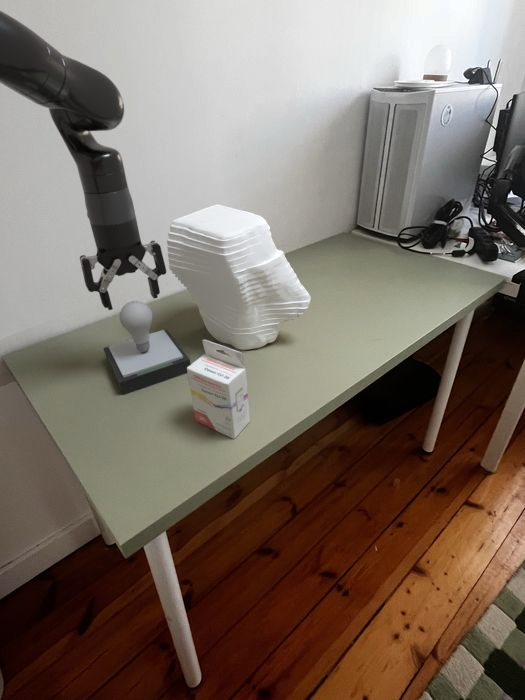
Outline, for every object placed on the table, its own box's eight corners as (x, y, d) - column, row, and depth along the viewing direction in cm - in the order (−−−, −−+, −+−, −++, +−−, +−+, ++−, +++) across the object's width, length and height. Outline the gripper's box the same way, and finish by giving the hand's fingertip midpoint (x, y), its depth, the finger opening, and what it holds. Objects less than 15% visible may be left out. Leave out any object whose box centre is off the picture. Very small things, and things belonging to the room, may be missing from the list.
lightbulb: (153, 339, 91) (143, 292, 85) (164, 353, 87) (153, 304, 81) (125, 349, 89) (112, 301, 83) (134, 363, 84) (121, 313, 78)
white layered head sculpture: (240, 300, 112) (231, 199, 98) (314, 341, 94) (316, 224, 80) (168, 329, 102) (146, 220, 87) (235, 382, 84) (222, 255, 69)
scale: (123, 395, 82) (118, 380, 80) (106, 359, 92) (102, 345, 90) (192, 371, 87) (189, 356, 85) (169, 340, 98) (166, 326, 96)
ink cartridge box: (194, 422, 75) (181, 352, 67) (212, 406, 78) (201, 336, 70) (234, 440, 71) (226, 367, 62) (251, 422, 74) (245, 351, 66)
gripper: (72, 230, 67) (98, 321, 76) (160, 213, 73) (175, 300, 82) (64, 218, 73) (90, 304, 82) (147, 204, 78) (162, 286, 87)
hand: (132, 302), depth 82 cm, fingers open, 8 cm apart
